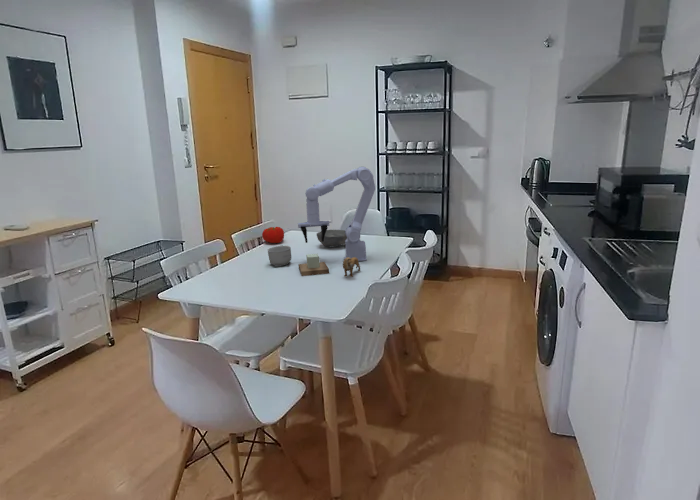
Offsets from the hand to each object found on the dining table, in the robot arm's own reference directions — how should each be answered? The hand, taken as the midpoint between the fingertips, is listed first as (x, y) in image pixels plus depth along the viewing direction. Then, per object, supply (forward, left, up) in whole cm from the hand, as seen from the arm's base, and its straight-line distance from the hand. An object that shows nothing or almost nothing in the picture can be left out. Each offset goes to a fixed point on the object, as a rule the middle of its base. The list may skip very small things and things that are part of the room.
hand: (314, 241), depth 216 cm
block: (+3, +14, -8) cm, 16 cm away
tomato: (+17, -47, -10) cm, 51 cm away
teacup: (+16, -3, -10) cm, 19 cm away
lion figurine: (-12, +25, -10) cm, 29 cm away
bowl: (-14, -27, -10) cm, 32 cm away
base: (+3, +14, -10) cm, 17 cm away
